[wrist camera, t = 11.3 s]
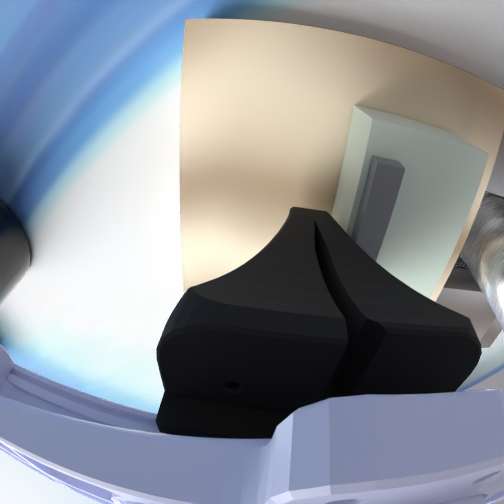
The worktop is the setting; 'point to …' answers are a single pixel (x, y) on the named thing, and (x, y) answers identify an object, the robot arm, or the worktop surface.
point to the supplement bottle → (11, 252)
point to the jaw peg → (488, 253)
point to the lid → (406, 193)
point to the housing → (309, 136)
